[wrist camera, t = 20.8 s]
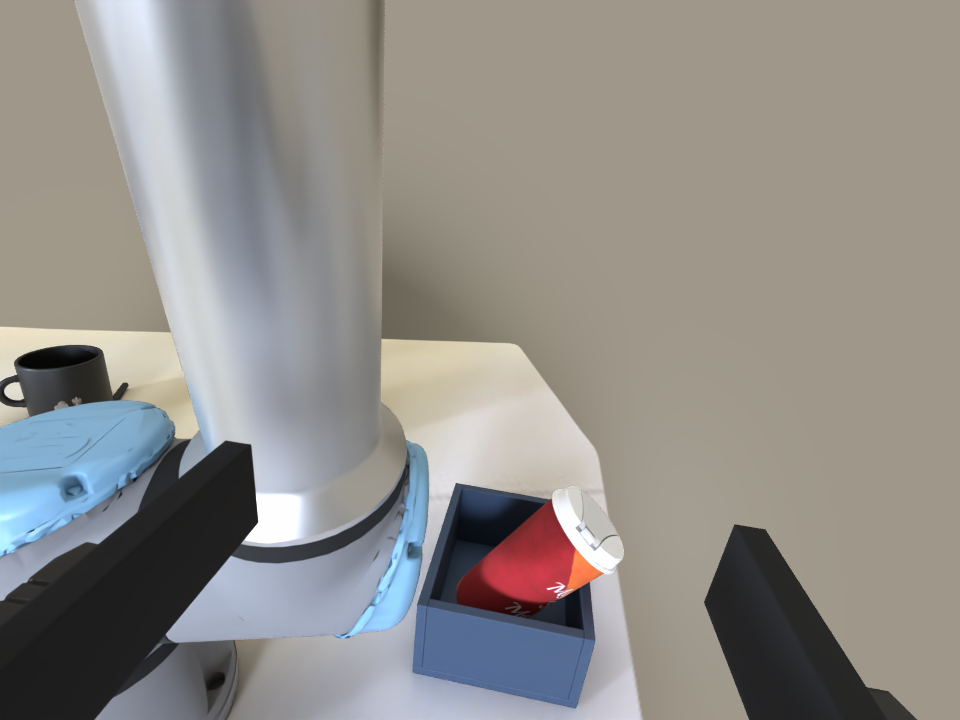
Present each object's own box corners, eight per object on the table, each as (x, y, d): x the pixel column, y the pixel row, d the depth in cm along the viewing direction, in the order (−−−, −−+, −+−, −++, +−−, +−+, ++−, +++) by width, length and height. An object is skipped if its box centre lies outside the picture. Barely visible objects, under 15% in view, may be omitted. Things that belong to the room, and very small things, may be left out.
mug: (8, 410, 67) (-11, 353, 64) (112, 393, 74) (100, 341, 71) (2, 441, 60) (-18, 378, 57) (117, 419, 68) (105, 362, 65)
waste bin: (412, 672, 38) (417, 604, 35) (450, 538, 53) (455, 482, 50) (576, 709, 37) (595, 641, 34) (569, 561, 51) (582, 505, 49)
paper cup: (490, 672, 37) (625, 582, 33) (433, 590, 39) (555, 495, 35) (517, 619, 45) (631, 540, 41) (469, 552, 46) (573, 470, 42)
